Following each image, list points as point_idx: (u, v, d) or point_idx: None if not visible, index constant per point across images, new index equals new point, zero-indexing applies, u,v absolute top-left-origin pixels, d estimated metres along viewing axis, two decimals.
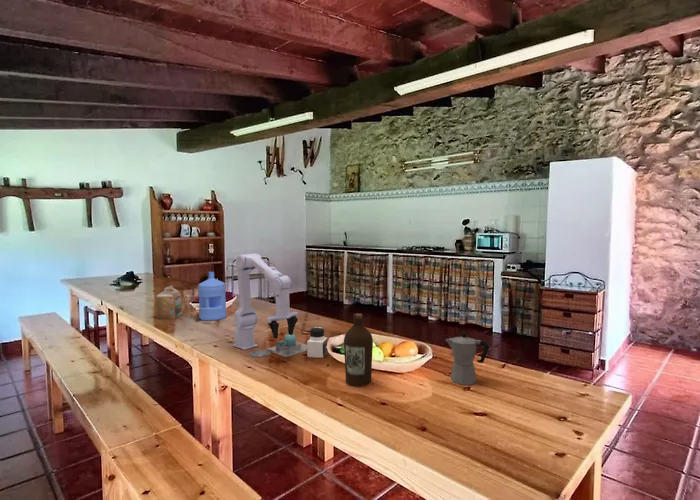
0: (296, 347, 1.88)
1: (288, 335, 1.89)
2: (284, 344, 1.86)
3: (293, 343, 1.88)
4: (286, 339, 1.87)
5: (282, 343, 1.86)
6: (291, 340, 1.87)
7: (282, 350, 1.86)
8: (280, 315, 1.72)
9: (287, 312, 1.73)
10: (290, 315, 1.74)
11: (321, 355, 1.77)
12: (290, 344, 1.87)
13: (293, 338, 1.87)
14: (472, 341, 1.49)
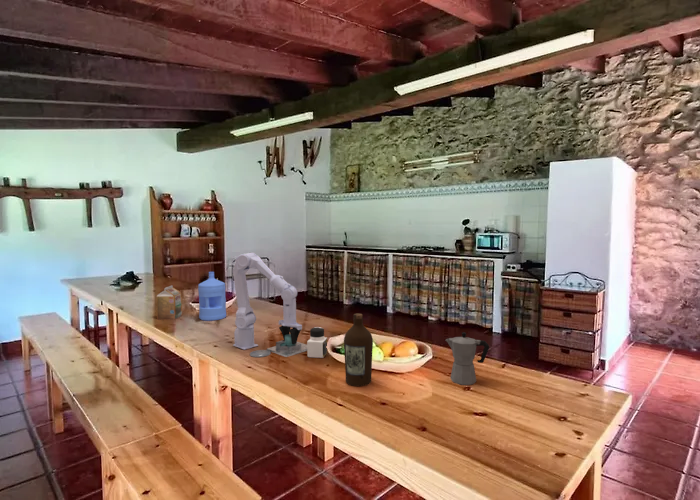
0: (296, 347, 1.88)
1: (288, 335, 1.89)
2: (284, 344, 1.86)
3: None
4: (286, 339, 1.87)
5: (282, 343, 1.86)
6: None
7: (282, 350, 1.86)
8: None
9: (285, 320, 1.86)
10: (288, 325, 1.85)
11: (321, 355, 1.77)
12: (290, 344, 1.87)
13: None
14: (472, 341, 1.49)
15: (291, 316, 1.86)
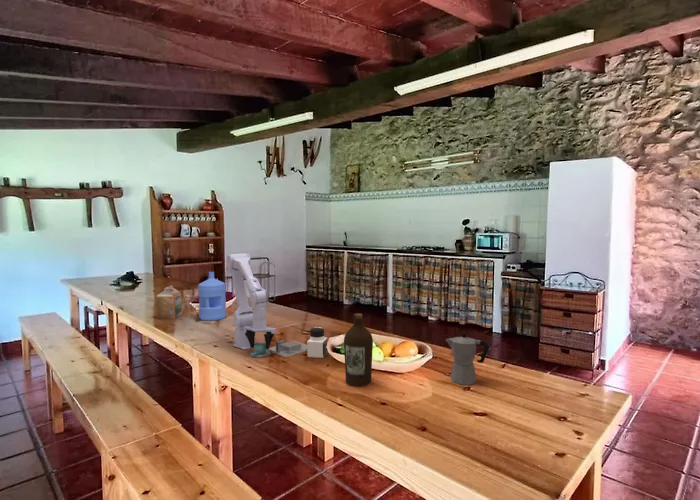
0: (296, 347, 1.88)
1: (258, 344, 1.83)
2: (256, 354, 1.80)
3: (264, 351, 1.82)
4: (257, 348, 1.81)
5: (254, 353, 1.79)
6: (262, 348, 1.81)
7: (282, 350, 1.86)
8: (253, 327, 1.82)
9: (257, 326, 1.80)
10: (261, 329, 1.80)
11: (321, 355, 1.77)
12: (262, 353, 1.81)
13: (264, 346, 1.82)
14: (472, 341, 1.49)
15: (263, 320, 1.80)
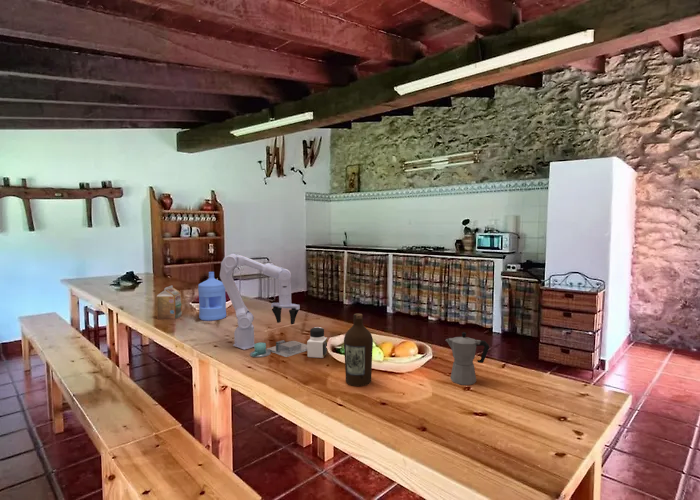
0: (296, 347, 1.88)
1: (258, 344, 1.83)
2: (256, 354, 1.80)
3: (264, 351, 1.83)
4: (257, 348, 1.81)
5: (254, 353, 1.79)
6: (262, 348, 1.81)
7: (282, 350, 1.86)
8: (279, 303, 1.94)
9: (282, 302, 1.92)
10: (286, 305, 1.92)
11: (321, 355, 1.77)
12: (262, 353, 1.81)
13: (264, 346, 1.82)
14: (472, 341, 1.49)
15: (288, 297, 1.93)
